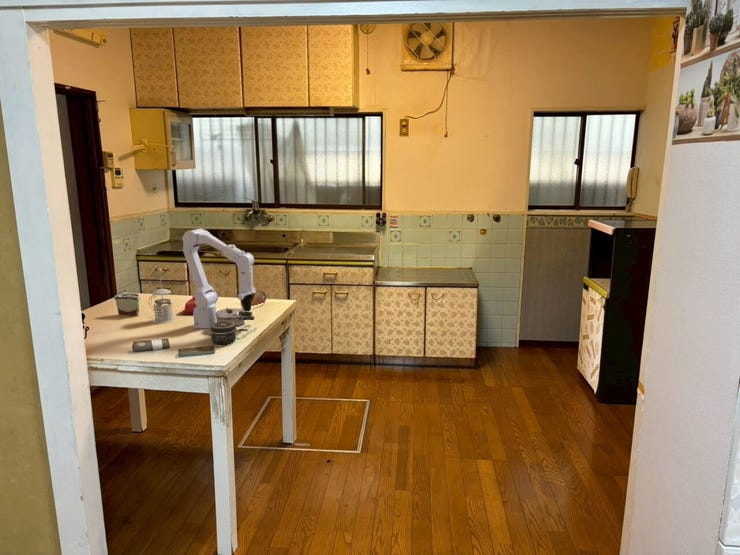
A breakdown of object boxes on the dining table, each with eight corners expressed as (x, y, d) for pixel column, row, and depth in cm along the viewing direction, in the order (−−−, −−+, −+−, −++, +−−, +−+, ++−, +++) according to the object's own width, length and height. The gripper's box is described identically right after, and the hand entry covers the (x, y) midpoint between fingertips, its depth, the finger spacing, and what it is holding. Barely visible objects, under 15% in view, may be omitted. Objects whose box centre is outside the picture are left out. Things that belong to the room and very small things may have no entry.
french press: (167, 324, 234) (162, 271, 228) (145, 322, 236) (139, 270, 231) (179, 318, 243) (175, 266, 238) (157, 316, 246) (152, 265, 240)
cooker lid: (209, 317, 224) (209, 312, 223) (225, 309, 236) (225, 304, 235) (243, 320, 219) (243, 315, 219) (258, 312, 231) (258, 307, 230)
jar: (214, 338, 216) (213, 321, 214) (238, 337, 217) (237, 320, 215) (208, 346, 206) (207, 328, 204) (234, 346, 207) (232, 328, 205)
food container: (146, 312, 252) (144, 293, 250) (140, 316, 246) (138, 296, 244) (123, 312, 253) (121, 292, 251) (116, 315, 247) (113, 295, 245)
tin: (243, 311, 255) (242, 295, 253) (239, 310, 257) (238, 294, 255) (266, 304, 266) (266, 289, 265) (262, 303, 268) (262, 288, 266)
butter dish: (203, 316, 248) (202, 299, 246) (179, 315, 248) (178, 298, 246) (211, 309, 259) (210, 293, 257) (188, 309, 259) (187, 292, 257)
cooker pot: (213, 332, 223) (212, 319, 222) (221, 323, 235) (220, 311, 234) (251, 332, 224) (250, 319, 222) (257, 323, 235) (256, 311, 234)
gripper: (248, 285, 215) (249, 316, 218) (261, 277, 229) (262, 306, 232) (232, 284, 216) (234, 315, 220) (246, 277, 230) (247, 305, 233)
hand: (247, 310), depth 226 cm, fingers closed
